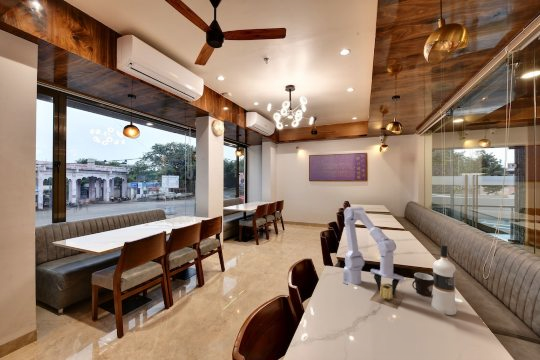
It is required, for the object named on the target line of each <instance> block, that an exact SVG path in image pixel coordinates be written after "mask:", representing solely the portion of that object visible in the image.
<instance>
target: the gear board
mask: <svg viewBox="0 0 540 360" xmlns="http://www.w3.org/2000/svg"><path fill="white" fill-rule="evenodd" d="M405 295H406V293H404V292H401V291H397V290H396V296H395V297H393V298H391V299H387V298H383V297H382V296H380V291H379V290H378V289H377V290H376V292H375V293H374V294H373V295H372V297H371V298H370V299H369V300H370V301H372V302H375V303H376V304H377V303H378V304H381V305H383V306H387V307H389V308H392V309H396V310H399V309H398V308H399V306H400V305H401V303H402V301H403V299H404V297H405Z"/></svg>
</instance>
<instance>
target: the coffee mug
mask: <svg viewBox="0 0 540 360" xmlns="http://www.w3.org/2000/svg"><path fill="white" fill-rule="evenodd" d="M413 275H414V280H413V282H412V283H411V285H412V288H413V289H414V290H415V292H416V294H417V295H420V296H422V297H427V298H428V297H433V276H432V275H430V274H428V273H424V272H415V273H414V274H413ZM414 285H415V286H414Z"/></svg>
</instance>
